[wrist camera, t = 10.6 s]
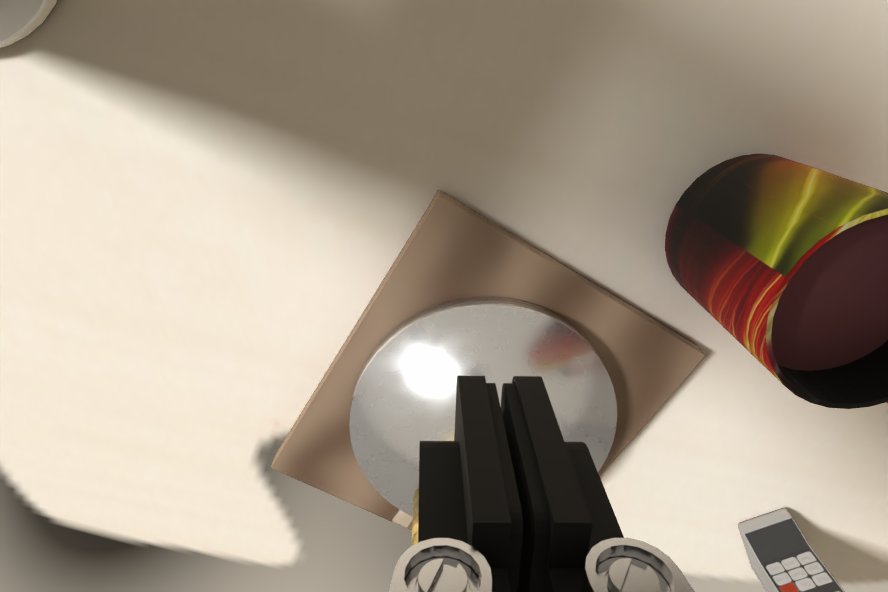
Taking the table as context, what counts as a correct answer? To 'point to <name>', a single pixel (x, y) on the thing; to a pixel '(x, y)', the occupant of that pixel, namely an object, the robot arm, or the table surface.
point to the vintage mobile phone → (784, 555)
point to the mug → (791, 272)
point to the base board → (479, 275)
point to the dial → (470, 354)
